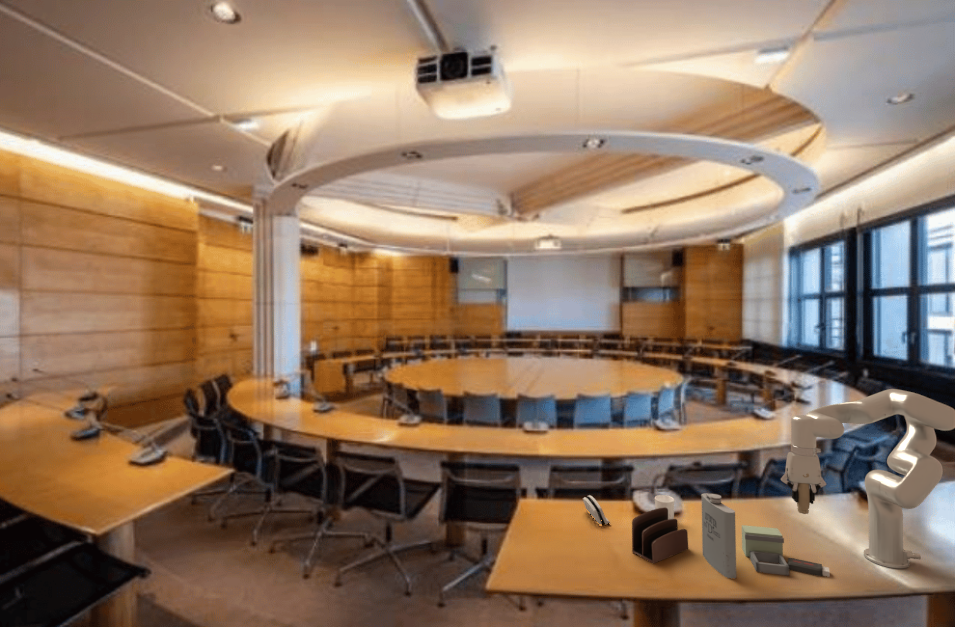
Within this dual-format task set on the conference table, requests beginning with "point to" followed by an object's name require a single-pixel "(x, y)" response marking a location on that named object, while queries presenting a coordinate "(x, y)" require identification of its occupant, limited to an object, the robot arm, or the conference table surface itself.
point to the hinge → (595, 509)
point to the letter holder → (657, 536)
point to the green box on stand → (764, 549)
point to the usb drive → (808, 567)
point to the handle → (803, 497)
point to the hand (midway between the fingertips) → (803, 501)
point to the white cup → (665, 504)
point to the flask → (718, 535)
